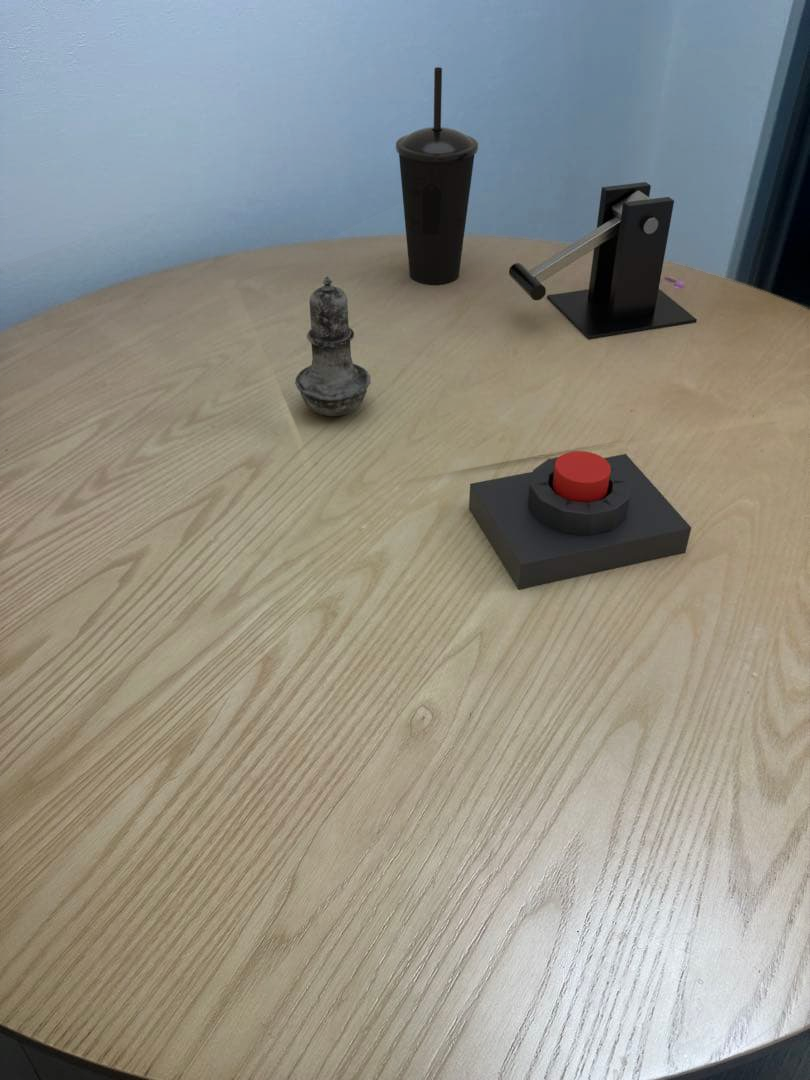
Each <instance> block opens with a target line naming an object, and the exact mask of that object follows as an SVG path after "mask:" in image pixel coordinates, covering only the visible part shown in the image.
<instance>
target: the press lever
mask: <svg viewBox="0 0 810 1080" xmlns="http://www.w3.org/2000/svg"><path fill="white" fill-rule="evenodd" d="M647 199H652V198H651V197H650V196H649V197H648V196H646V195H645V194H643V193H642V192H640V191H639V190H638V191H636V192H635V193H633V194H632V195H630V196H628V197H627V198H625V199H624V200H622V201H621V202H619V203H617V204H616V205H614V206H613V207H612V211H613V213H614V216H615V217H614V218H613V219H611V220H609V221H608V222H606V223H605V224H603V225H601V226H600V227H598V228H597V227H596V228H595V229H593V230H591V231H590V232H589V233H587V234H585V235H584V236H582V237H581V238H579V239H577V240H576V241H574V242H573V243H571V244H569V245H568V246H566V247H565V248H563V249H562V250H559V251H558V252H557V253H555V254H553V255H552V256H551V257H549V258H547V259H546V260H544V261H543V262H541V263H539V264H538V265H536V266H534V267H533V268H531V269H530V270H528V269H527V268H526V267H525V266H524V265H523V264H522V263H520V262H516V263H513V264H512V265H511V266H509V270H508V275H509V277H510V278H511V279H512V280H513V281H514V282H515V283H516V284H517V285H518V286H519V287H520V288H521V289H522V290H523V291H524V292H525V293H526V294H527V295H528V296H529V298H531V299H532V300H533V301H537V302H538V301H540V300H542V299H544V297H545V295H546V292H547V289H546V287H545V285H543V284H542V282H543V281H545V280H546V279H548V278H550V277H551V276H553V275H555V274H556V273H558V272H559V271H561V270H563V269H564V268H566V267H567V266H569V265H571V264H572V263H574V262H576V261H577V260H578V259H580V258H582V257H583V256H585V255H587V254H588V253H589V252H592V251H594V248H596V247H598V246H599V245H601V244H602V243H604V242H606V241H607V240H609V239H610V238H612V237H614V236H615V235H617V234H618V233H619V229H620V222H621V215H622V208H623V203H624V202H631V201H639V200H647Z"/></svg>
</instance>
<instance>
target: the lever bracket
mask: <svg viewBox="0 0 810 1080" xmlns="http://www.w3.org/2000/svg"><path fill="white" fill-rule="evenodd" d="M651 188H652V185H651V184H649V183H648V182H646V181H643V182H634V183H626V184H617V185H607V186H602V187H601V190H600V199H599V207H598V214H597V222H596V229H597V228H598V227H600V226H601V225H603V224H605V223H606V222H608V221H609V220H611V219H613V218H614V217H615V216H614V213H613V211H612V207H613V206H614V205H616V204H617V203H619V202H621V201H622V200H624V199H625V198H627V197H628V196H630V195H632V194H633V193H635V192H636V191H638V190H639V191H640V192H642V193H643V194H645V195H646V196H648V197H649V198H650V196H651ZM674 204H675V200H674V199H672V198H671V197H670V196H665V197H664V196H663V197H657V198H651V199H647V200H639V201H631V202H624V203H623V208H622V215H621V222H620V229H619V233H618V234H617V235H615V236H614V237H612V238H610V239H609V240H607V241H606V242H604V243H602V244H601V245H599V246H598V247H596V248H594V249H593V252H592V253H593V254H592V262H591V270H590V277H589V285H588V289H587V288H586V289H583V290H575V291H567V292H560V293H554V294H547V295H546V299H547V301H549V303H551V305H552V306H554V307H555V309H557V310H558V311H559V312H560V313H561V314H562V315H563V316H564V317H565V318H566V320H568V321H569V322H570V323H571V324H572V326H574V327H575V329H577V330H578V331H579V332H580V333H581V335H583V336H584V337H585V338H586V339H587V340H588V341H589V340H595V339H600V338H608V337H615V336H620V335H627V334H633V333H639V332H644V331H645V332H646V331H652V330H658V329H663V328H664V329H665V328H669V327H671V328H672V327H676V326H683V325H690V324H696V323H697V322H698V319H697V318H696V317H695V316H693V314H691V313H690V312H688V311H687V309H685V308H684V307H683V306H681V305H680V304H679V303H678V302H676V301H675V300H674V299H672V298H671V297H670V296H669V295H668V294H666V293H665V292H663V291H662V290H661V289H660V284H661V278H662V274H663V273H662V272H663V267H664V261H665V255H666V249H667V243H668V239H669V232H670V227H671V223H672V222H671V221H672V215H673V210H674Z"/></svg>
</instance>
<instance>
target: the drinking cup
mask: <svg viewBox="0 0 810 1080" xmlns="http://www.w3.org/2000/svg"><path fill="white" fill-rule="evenodd" d="M433 71H434V73H433V78H434V79H433V126H431V127H430V126H429V127H424V128H420V129H417V130H415V131H413V132H411V133H409V134H407V135H404V136H401V137H400V138H398V139H397V141H396V142H395V151H396V153H397V154H398V158H399V159H398V160H399V169H400V182H401V194H402V205H403V215H404V224H405V225H404V227H405V237H406V249H407V261H408V270H409V278H410V279H411V280H412V281H414V282H416V283H418V284H422V285H427V286H443V285H448V284H451V283H453V282H455V281H457V280H458V279H459V277H460V268H461V263H462V253H463V247H464V239H465V232H466V223H467V215H468V207H469V201H470V194H471V193H470V192H471V184H472V176H473V169H474V163H475V162H474V161H475V154H477V153H478V151H479V142H478V141H477V139H475V138H473V137H472V136H469V135H467V134H464V133H463V132H461V131H459V130H456V129H454V128H450V127H445V126H442V95H443V92H442V91H443V68H442V67H437V66H436V67H434V70H433Z"/></svg>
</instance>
